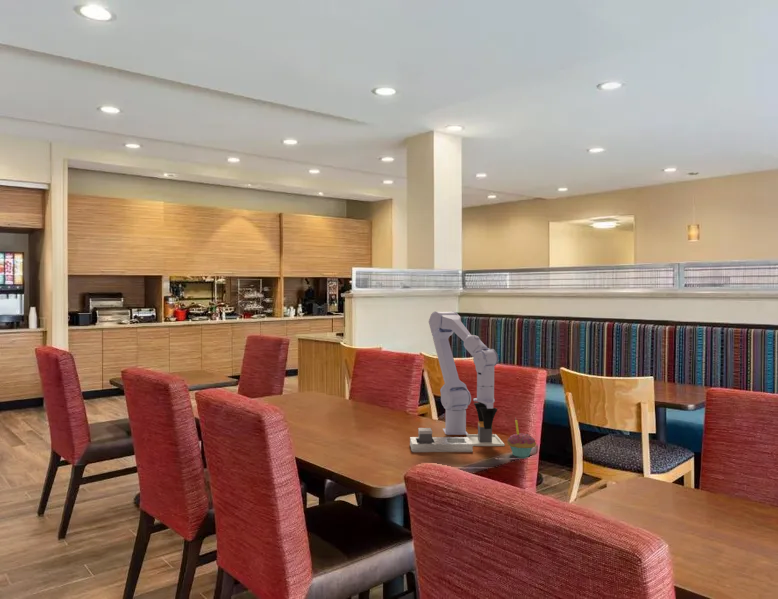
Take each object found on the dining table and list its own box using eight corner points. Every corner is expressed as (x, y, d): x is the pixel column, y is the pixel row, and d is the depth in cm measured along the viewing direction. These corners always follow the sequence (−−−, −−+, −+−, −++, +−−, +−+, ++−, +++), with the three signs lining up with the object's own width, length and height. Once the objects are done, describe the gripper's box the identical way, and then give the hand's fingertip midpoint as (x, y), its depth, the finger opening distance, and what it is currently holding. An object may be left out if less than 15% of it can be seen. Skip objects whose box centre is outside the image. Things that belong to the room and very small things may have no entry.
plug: (477, 439, 207) (477, 421, 207) (489, 439, 207) (489, 421, 207) (479, 442, 203) (480, 424, 203) (492, 442, 203) (492, 424, 203)
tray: (466, 437, 211) (466, 434, 211) (496, 437, 212) (496, 434, 212) (472, 447, 198) (472, 444, 198) (504, 447, 198) (504, 444, 198)
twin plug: (418, 446, 197) (418, 427, 197) (430, 446, 197) (430, 427, 197) (419, 449, 193) (419, 430, 193) (432, 450, 193) (432, 430, 193)
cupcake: (514, 461, 183) (515, 421, 183) (502, 453, 191) (502, 415, 191) (540, 459, 185) (541, 419, 185) (527, 452, 193) (527, 414, 193)
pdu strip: (409, 446, 199) (410, 437, 199) (467, 446, 200) (468, 437, 200) (411, 453, 190) (411, 444, 190) (472, 453, 191) (472, 444, 191)
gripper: (469, 382, 212) (469, 421, 212) (478, 389, 197) (477, 431, 197) (489, 382, 212) (489, 421, 212) (499, 389, 198) (499, 431, 198)
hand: (485, 426), depth 205 cm, fingers open, 7 cm apart
